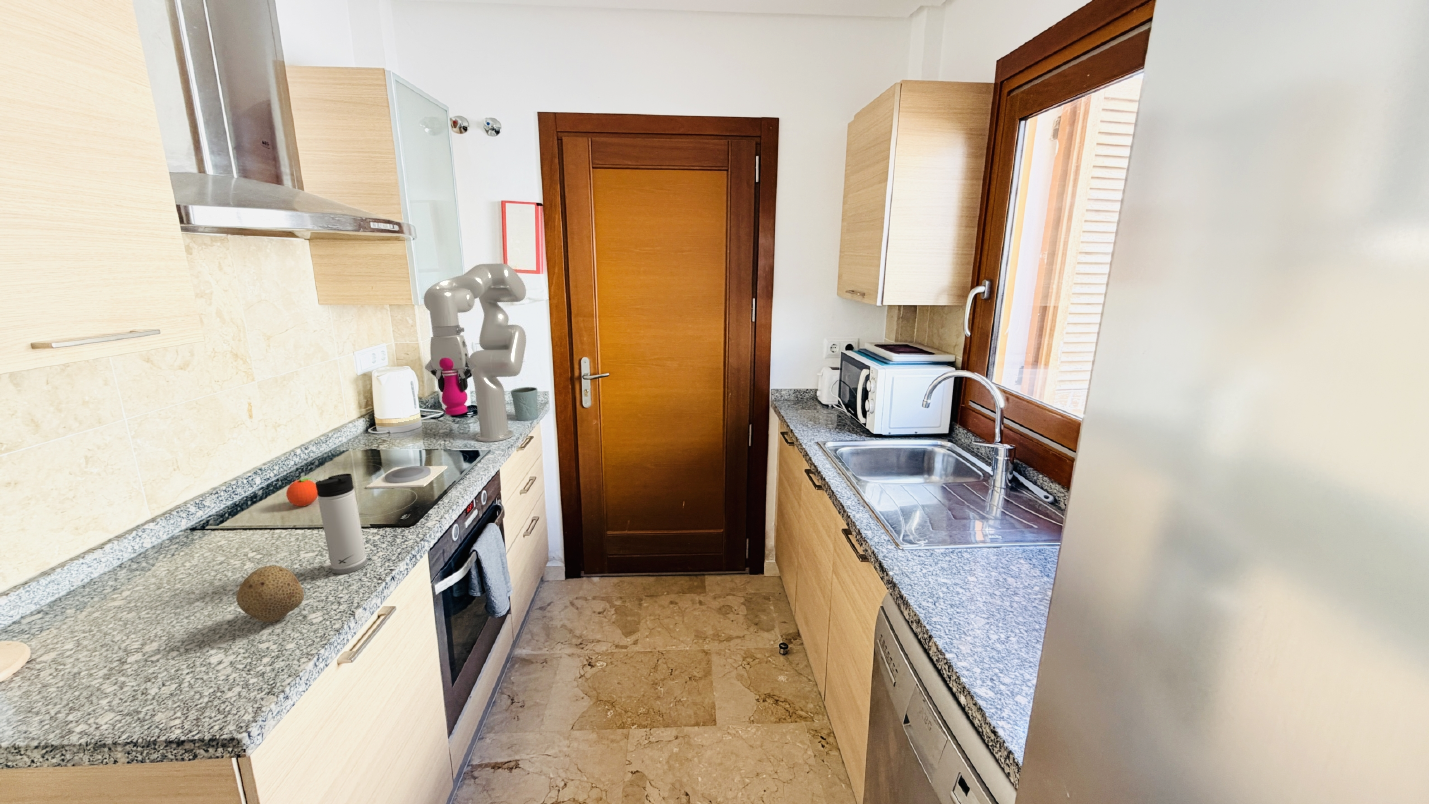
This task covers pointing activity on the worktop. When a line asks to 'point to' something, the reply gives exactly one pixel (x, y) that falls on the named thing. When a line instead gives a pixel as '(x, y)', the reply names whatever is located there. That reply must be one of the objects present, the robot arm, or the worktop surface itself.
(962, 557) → the worktop surface
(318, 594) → the worktop surface
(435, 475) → the cream square board
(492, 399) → the robot arm
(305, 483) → the clementine
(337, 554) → the travel mug
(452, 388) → the pepper mill
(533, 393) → the green plant pot
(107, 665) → the worktop surface
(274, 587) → the brown potato
